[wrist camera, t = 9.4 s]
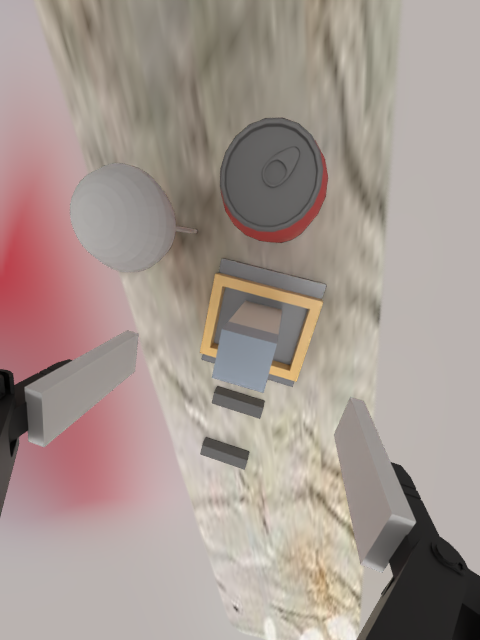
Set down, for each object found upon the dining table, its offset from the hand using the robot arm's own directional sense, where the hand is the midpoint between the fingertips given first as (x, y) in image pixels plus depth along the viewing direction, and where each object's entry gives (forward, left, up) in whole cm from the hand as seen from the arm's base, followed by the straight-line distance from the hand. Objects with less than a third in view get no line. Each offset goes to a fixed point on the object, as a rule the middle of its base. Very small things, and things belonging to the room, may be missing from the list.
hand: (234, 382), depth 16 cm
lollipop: (-8, -9, -14) cm, 18 cm away
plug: (0, 0, -13) cm, 13 cm away
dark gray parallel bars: (+14, 0, -14) cm, 20 cm away
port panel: (0, 0, -14) cm, 14 cm away
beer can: (-12, -1, -14) cm, 18 cm away
